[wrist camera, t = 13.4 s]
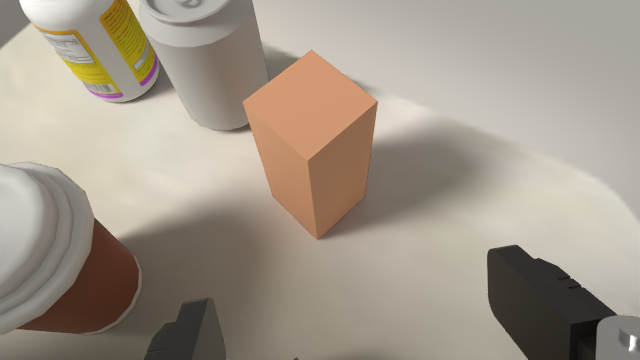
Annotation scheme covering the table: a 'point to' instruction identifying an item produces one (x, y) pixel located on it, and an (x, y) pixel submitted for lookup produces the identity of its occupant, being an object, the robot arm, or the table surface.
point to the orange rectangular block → (314, 140)
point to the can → (208, 55)
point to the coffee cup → (59, 257)
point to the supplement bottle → (98, 44)
